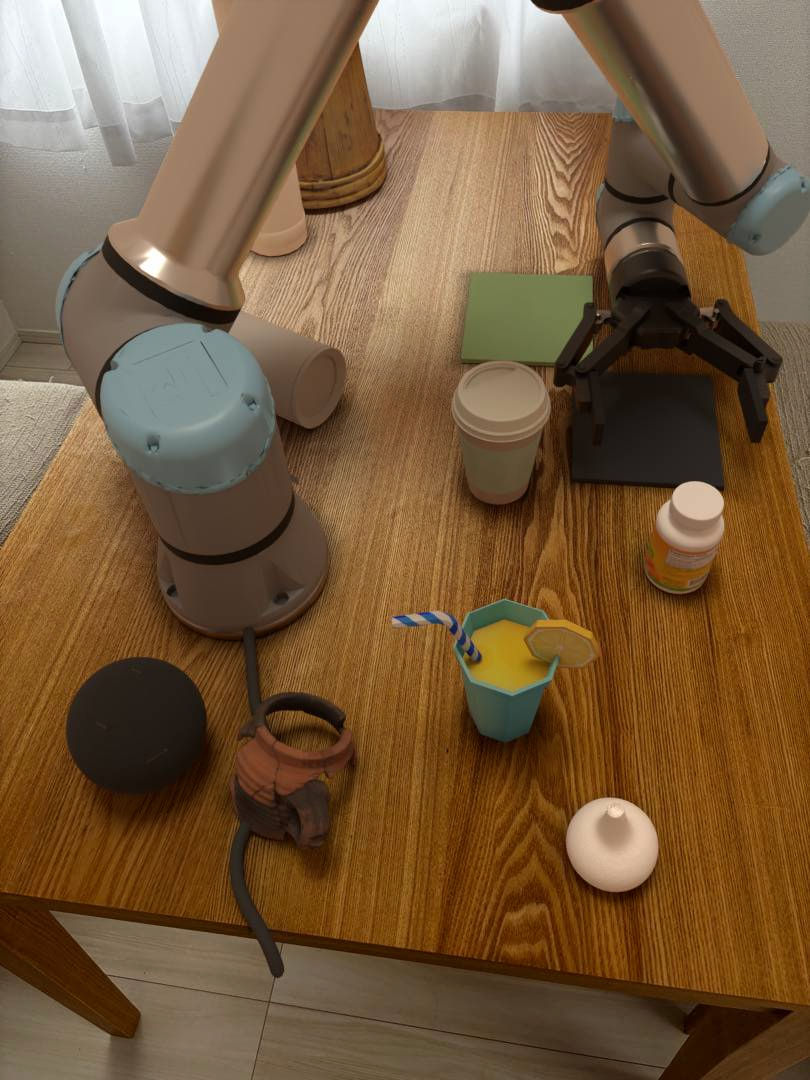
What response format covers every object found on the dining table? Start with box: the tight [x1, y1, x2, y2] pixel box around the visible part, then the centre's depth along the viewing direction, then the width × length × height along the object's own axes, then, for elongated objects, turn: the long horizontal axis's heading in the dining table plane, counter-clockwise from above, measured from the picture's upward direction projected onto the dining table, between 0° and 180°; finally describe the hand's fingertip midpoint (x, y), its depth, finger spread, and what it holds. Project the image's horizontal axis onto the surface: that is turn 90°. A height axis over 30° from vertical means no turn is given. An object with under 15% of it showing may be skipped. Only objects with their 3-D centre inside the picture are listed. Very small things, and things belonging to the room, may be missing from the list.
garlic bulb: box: [565, 797, 659, 893], centre depth 59 cm, size 6×6×8 cm
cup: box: [391, 598, 601, 744], centre depth 63 cm, size 14×8×15 cm, turn 90°
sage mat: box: [460, 271, 594, 367], centre depth 97 cm, size 15×14×1 cm
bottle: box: [211, 0, 308, 257], centre depth 97 cm, size 8×8×30 cm
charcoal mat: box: [571, 370, 726, 491], centre depth 86 cm, size 15×14×1 cm
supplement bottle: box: [643, 481, 725, 595], centre depth 72 cm, size 5×5×10 cm
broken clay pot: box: [229, 691, 358, 852], centre depth 64 cm, size 12×10×8 cm
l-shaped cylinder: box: [228, 310, 347, 429], centre depth 88 cm, size 18×11×20 cm
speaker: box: [65, 656, 208, 795], centre depth 64 cm, size 10×10×10 cm
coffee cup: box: [450, 360, 552, 506], centre depth 78 cm, size 8×8×12 cm
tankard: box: [296, 40, 388, 210], centre depth 109 cm, size 18×24×25 cm
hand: (678, 434), depth 75 cm, fingers open, 13 cm apart
